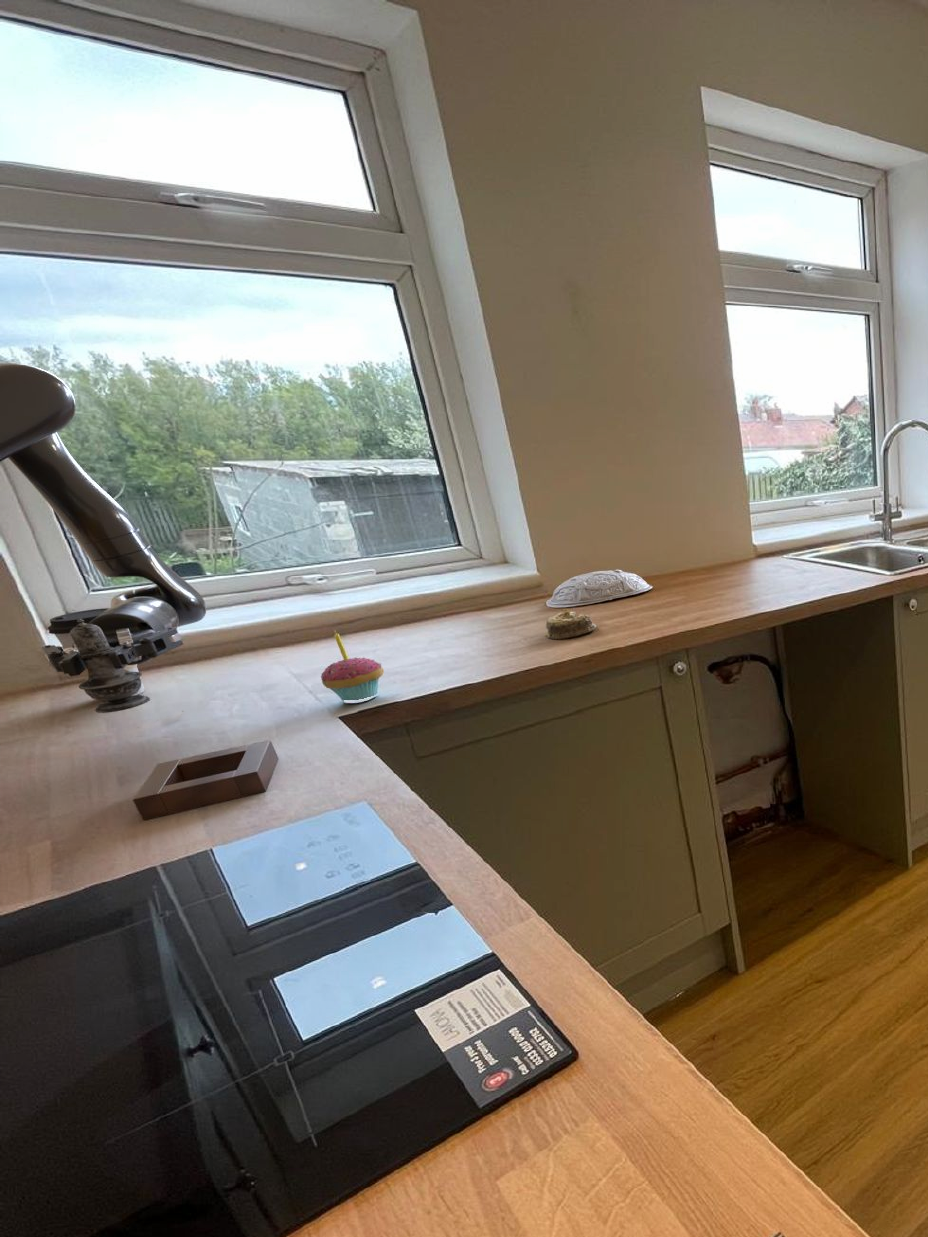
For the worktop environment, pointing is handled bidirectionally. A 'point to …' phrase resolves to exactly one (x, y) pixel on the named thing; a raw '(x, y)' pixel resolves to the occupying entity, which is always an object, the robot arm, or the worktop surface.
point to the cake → (568, 625)
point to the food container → (596, 588)
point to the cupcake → (352, 676)
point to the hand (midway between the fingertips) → (93, 664)
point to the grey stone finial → (105, 672)
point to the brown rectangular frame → (206, 779)
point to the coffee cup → (69, 621)
